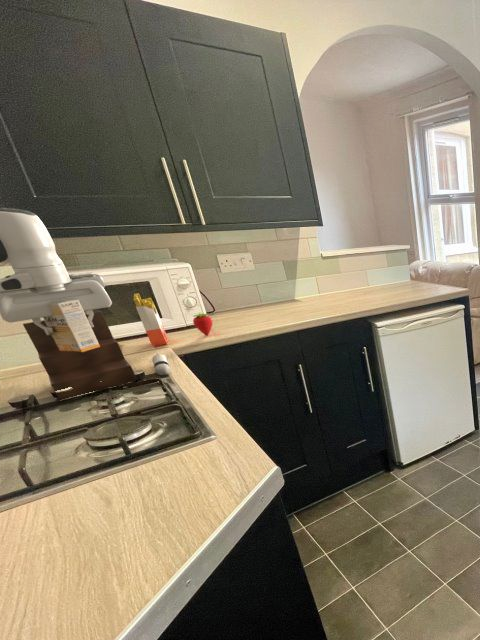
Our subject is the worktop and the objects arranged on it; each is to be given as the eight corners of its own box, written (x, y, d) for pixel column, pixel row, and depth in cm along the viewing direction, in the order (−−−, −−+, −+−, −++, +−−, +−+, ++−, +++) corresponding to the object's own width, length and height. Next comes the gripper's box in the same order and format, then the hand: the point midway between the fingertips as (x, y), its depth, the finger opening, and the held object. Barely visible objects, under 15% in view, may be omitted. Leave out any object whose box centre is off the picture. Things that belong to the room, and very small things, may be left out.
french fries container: (169, 338, 159) (150, 291, 151) (168, 345, 150) (148, 295, 143) (154, 341, 156) (134, 293, 149) (152, 348, 148) (131, 297, 141)
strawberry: (214, 331, 165) (206, 306, 161) (218, 335, 160) (209, 309, 156) (196, 335, 162) (187, 309, 158) (200, 338, 156) (190, 312, 152)
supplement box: (58, 351, 111) (33, 302, 106) (79, 345, 116) (56, 298, 110) (81, 352, 109) (56, 303, 104) (101, 346, 114) (79, 298, 108)
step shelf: (60, 401, 109) (24, 335, 101) (55, 384, 120) (22, 323, 113) (138, 381, 119) (110, 320, 112) (126, 367, 131) (101, 310, 124)
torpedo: (175, 374, 123) (167, 353, 121) (155, 379, 121) (146, 357, 118) (169, 359, 136) (162, 340, 133) (151, 363, 133) (143, 344, 130)
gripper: (98, 270, 114) (119, 320, 119) (-16, 283, 100) (15, 338, 106) (101, 272, 110) (123, 323, 115) (-17, 285, 96) (15, 343, 102)
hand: (70, 330), depth 110 cm, fingers closed on supplement box, 6 cm apart
